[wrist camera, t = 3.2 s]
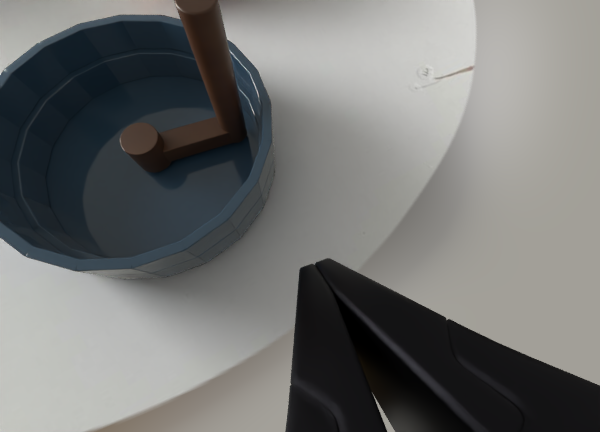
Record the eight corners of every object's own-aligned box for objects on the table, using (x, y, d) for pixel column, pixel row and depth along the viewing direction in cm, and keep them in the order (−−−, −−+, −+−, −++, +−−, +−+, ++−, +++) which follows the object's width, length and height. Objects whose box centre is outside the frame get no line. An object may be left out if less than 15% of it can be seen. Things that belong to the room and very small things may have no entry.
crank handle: (251, 144, 22) (224, 12, 12) (142, 177, 20) (14, 60, 11) (242, 118, 22) (208, -27, 13) (135, 148, 21) (8, 15, 11)
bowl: (307, 228, 21) (314, 205, 16) (55, 319, 18) (-27, 323, 13) (236, 50, 25) (225, -9, 21) (26, 103, 23) (-43, 49, 18)
